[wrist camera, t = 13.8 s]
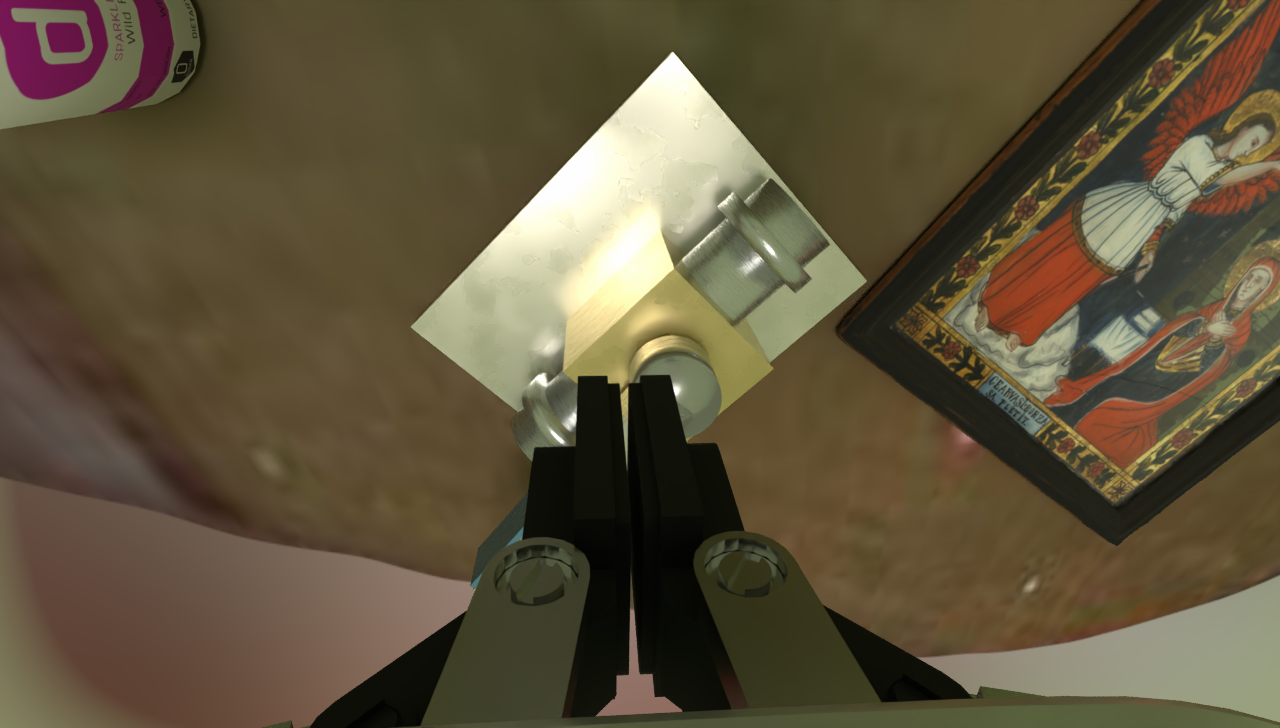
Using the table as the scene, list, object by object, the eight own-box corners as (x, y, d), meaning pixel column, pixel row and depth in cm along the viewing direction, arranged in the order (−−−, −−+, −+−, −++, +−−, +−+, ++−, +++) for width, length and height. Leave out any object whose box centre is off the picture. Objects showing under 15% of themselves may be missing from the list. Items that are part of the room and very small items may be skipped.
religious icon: (1263, -246, 32) (1321, -269, 30) (1585, 136, 42) (1649, 143, 40) (796, 365, 46) (808, 385, 43) (1124, 542, 56) (1149, 567, 53)
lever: (665, 319, 34) (672, 344, 31) (728, 366, 35) (740, 393, 32) (467, 545, 39) (458, 583, 36) (529, 578, 41) (525, 616, 38)
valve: (670, 51, 36) (691, 55, 29) (861, 276, 42) (916, 324, 35) (414, 320, 42) (378, 380, 34) (616, 481, 48) (621, 559, 41)
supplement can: (191, -67, 32) (-95, -140, 19) (218, 113, 36) (-5, 161, 22) (6, -94, 31) (-436, -190, 18) (53, 95, 35) (-285, 133, 21)
